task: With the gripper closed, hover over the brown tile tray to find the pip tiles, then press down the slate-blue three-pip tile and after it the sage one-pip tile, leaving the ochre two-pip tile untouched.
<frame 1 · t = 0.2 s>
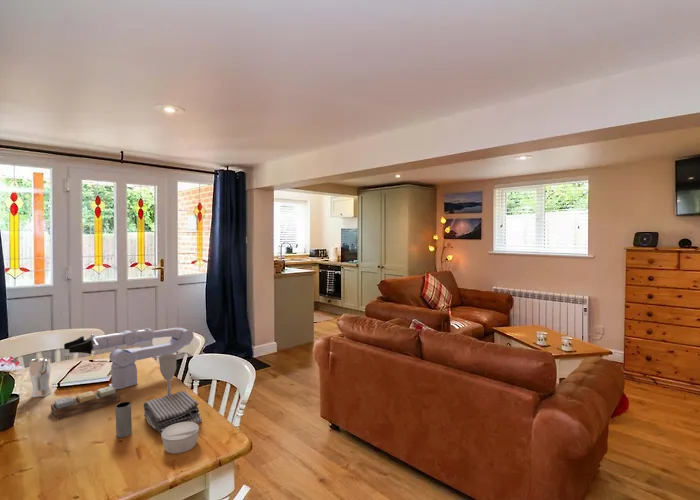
hand: (66, 348, 156), 21 cm above the table, tool horizontal, fingers open, 7 cm apart
beer glass: (41, 395, 162), on the table
brown tile tray: (86, 405, 152), on the table
two pip tile: (86, 396, 152), point 4 cm above the table, slide at 0.0 cm
three pip tile: (64, 402, 147), point 4 cm above the table, slide at 0.0 cm
one pip tile: (106, 391, 157), point 4 cm above the table, slide at 0.0 cm
chalice: (169, 401, 157), on the table
ramekin: (180, 446, 124), on the table
grey cylinder: (124, 434, 131), on the table
towel: (172, 421, 141), on the table
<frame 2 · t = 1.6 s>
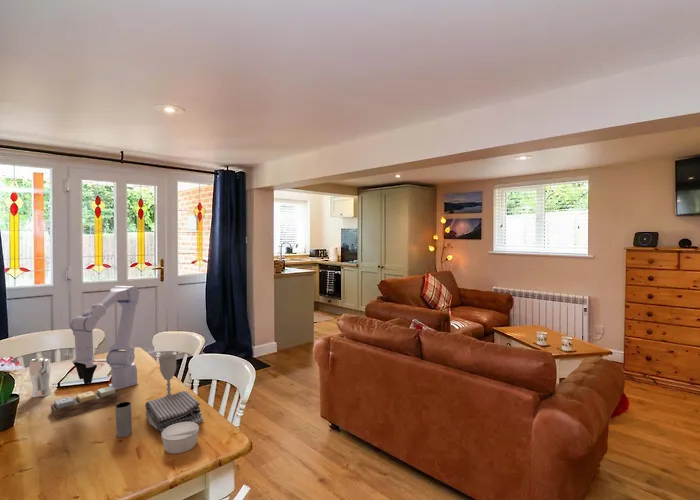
hand: (85, 381, 152), 10 cm above the table, tool pointing down, fingers open, 7 cm apart
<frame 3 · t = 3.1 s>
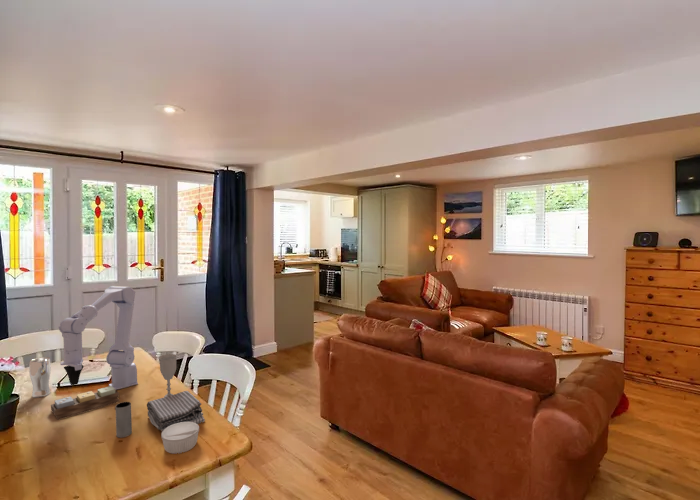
hand: (74, 384, 149), 10 cm above the table, tool pointing down, fingers closed
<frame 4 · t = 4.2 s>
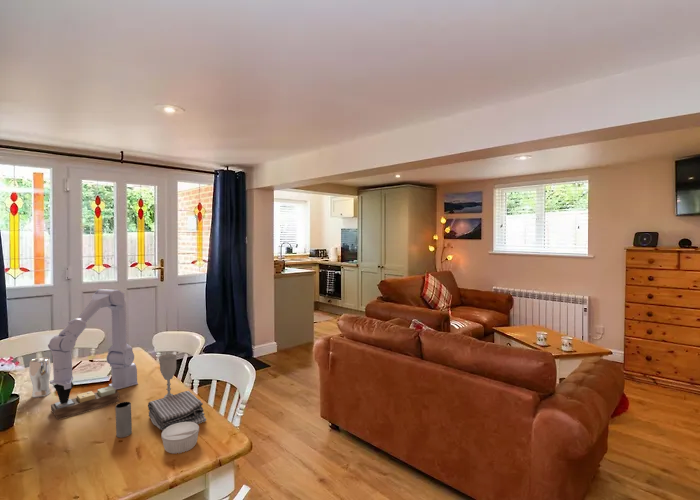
hand: (64, 402, 147), 4 cm above the table, tool pointing down, fingers closed, pressing on three pip tile
three pip tile: (64, 405, 147), point 3 cm above the table, slide at 0.9 cm, touching gripper
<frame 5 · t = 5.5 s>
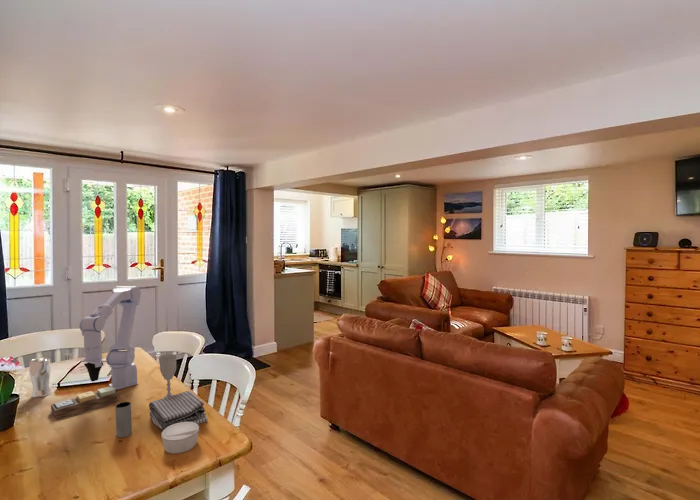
hand: (94, 380, 154), 9 cm above the table, tool pointing down, fingers closed
three pip tile: (64, 405, 147), point 3 cm above the table, slide at 1.1 cm
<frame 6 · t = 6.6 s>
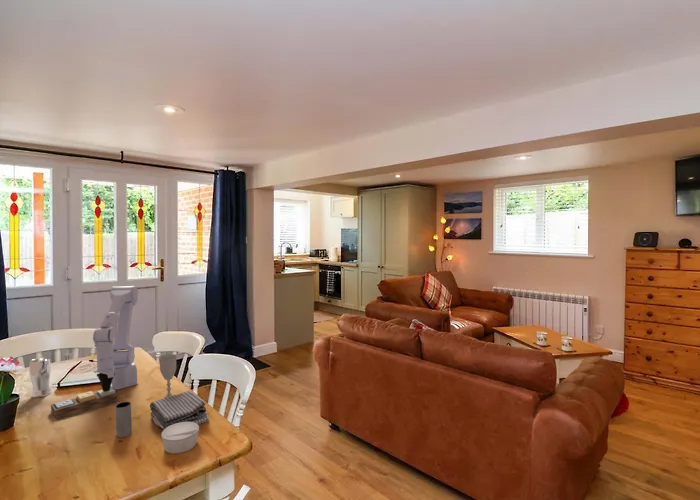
hand: (106, 390, 157), 4 cm above the table, tool pointing down, fingers closed, pressing on one pip tile
one pip tile: (106, 393, 157), point 3 cm above the table, slide at 0.6 cm, touching gripper
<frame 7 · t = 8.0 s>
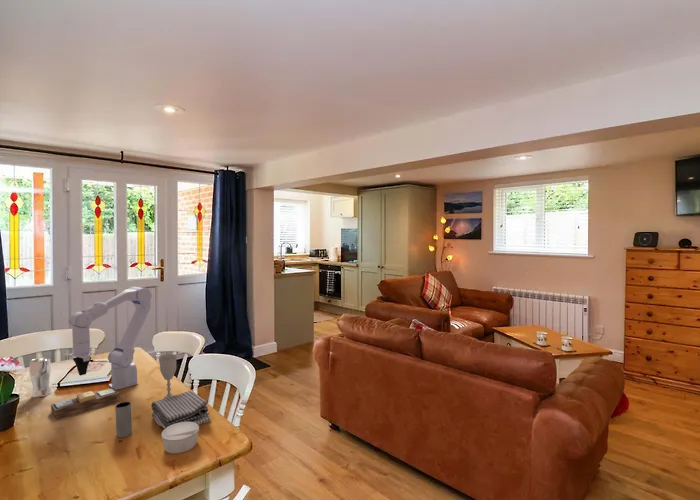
hand: (82, 374, 158), 10 cm above the table, tool pointing down, fingers closed
one pip tile: (106, 394, 157), point 2 cm above the table, slide at 1.1 cm
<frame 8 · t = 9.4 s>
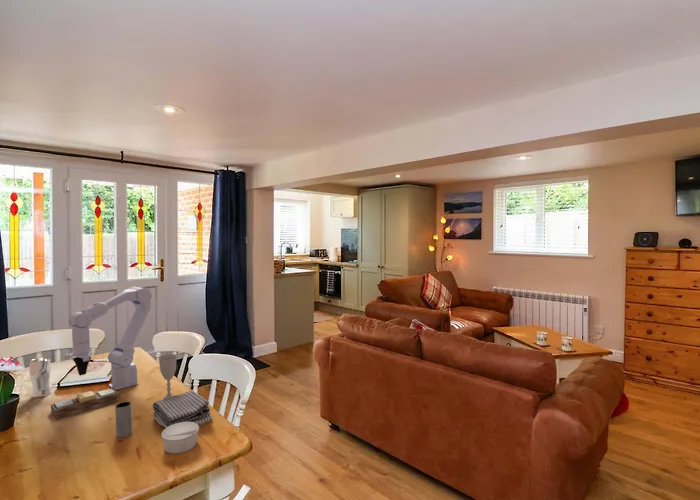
hand: (82, 374, 158), 10 cm above the table, tool pointing down, fingers closed
at the end: three pip tile slide at 1.1 cm; one pip tile slide at 1.1 cm; two pip tile slide at 0.0 cm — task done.
